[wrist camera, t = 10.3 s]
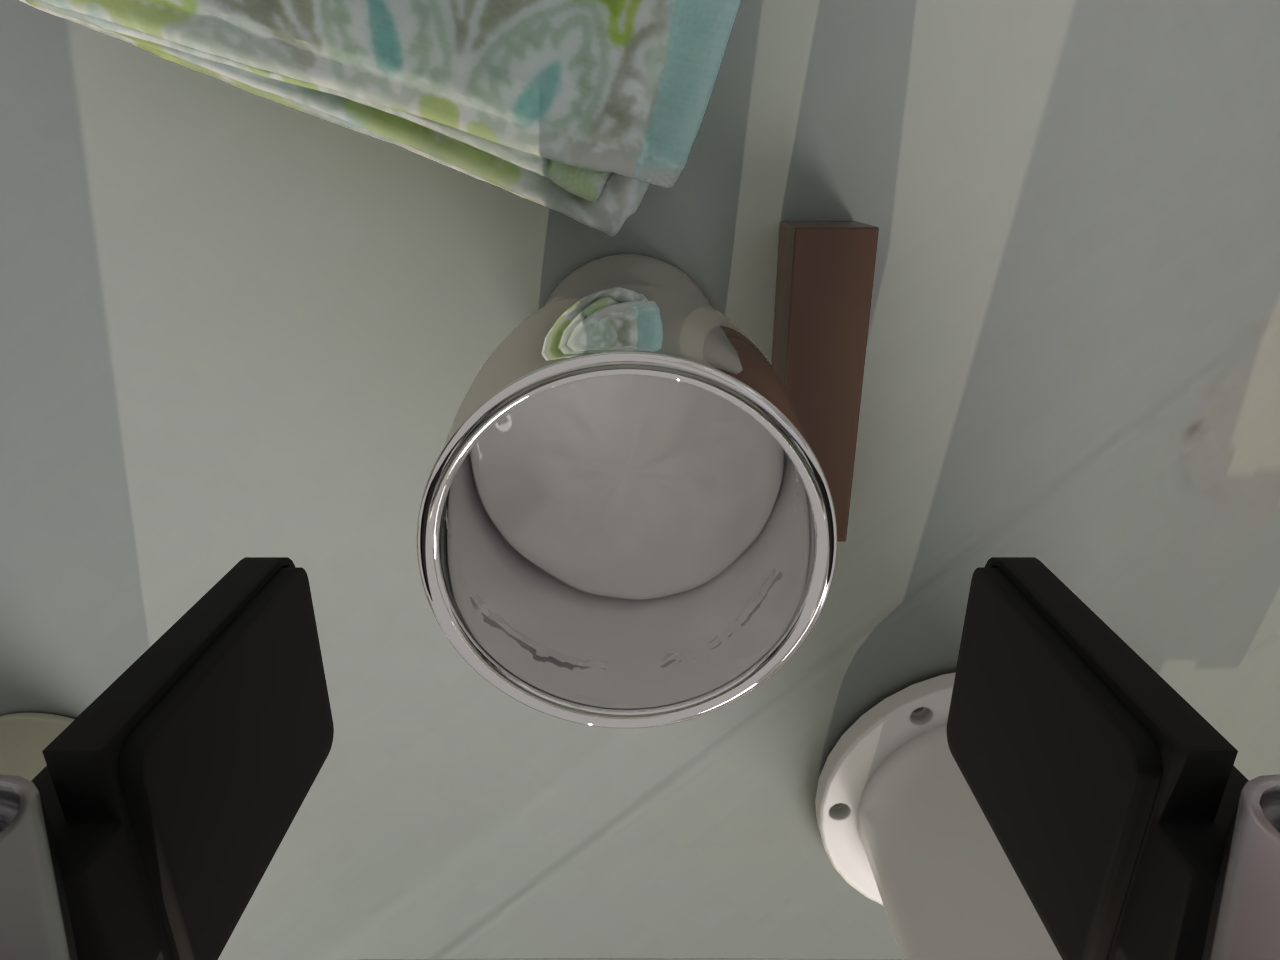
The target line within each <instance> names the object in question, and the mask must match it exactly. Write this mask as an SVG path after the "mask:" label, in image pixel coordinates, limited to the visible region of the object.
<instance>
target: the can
mask: <svg viewBox="0 0 1280 960" xmlns="http://www.w3.org/2000/svg"><path fill="white" fill-rule="evenodd" d="M74 720H75V719H72V718H69V717H64V716H59V715H54V714H46V713H14V714H7V715H2V716H0V775H15V776H21V777H23V778H25V779H28V780H30V781H32V780H33V779H34V778H35V777H36V776H37V775H38V774H39V773H40V772H41V771H42V770H43V769H44V768H45V767H46V766H47V764H46V761H45V758H44V755H43V752H42V751H43V750H44V749H45V748H46V747H47V746H48V745H49V744H50V743H51V742H52V741H53V740H54V739H55V738H56V737H57V736H58V735H59V734H60V733H61V732H62V731H64V730H65V729H66V728H67V727H68V726H69V725H70V724H71V723H72V722H73V721H74Z"/></svg>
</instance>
